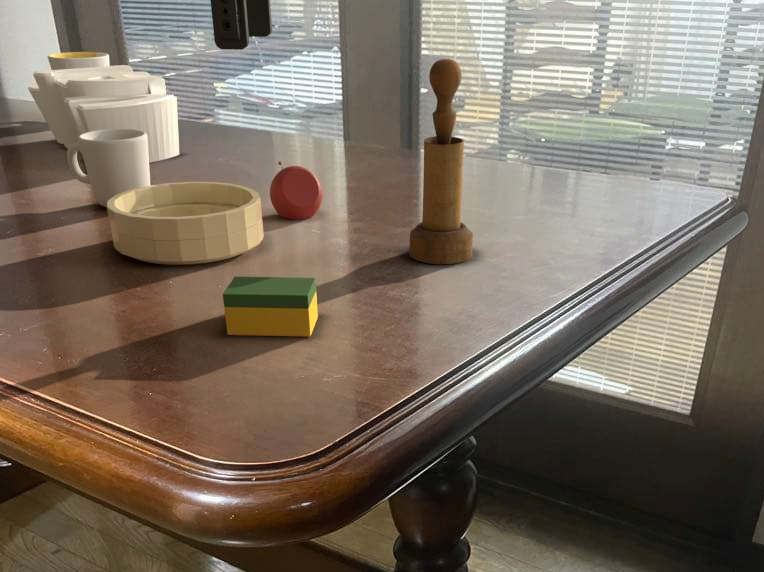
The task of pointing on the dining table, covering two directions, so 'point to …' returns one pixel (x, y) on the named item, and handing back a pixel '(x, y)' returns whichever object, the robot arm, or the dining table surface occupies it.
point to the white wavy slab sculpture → (108, 105)
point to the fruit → (295, 193)
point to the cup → (111, 161)
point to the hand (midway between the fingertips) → (245, 42)
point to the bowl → (186, 222)
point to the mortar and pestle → (442, 180)
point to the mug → (78, 60)
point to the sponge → (271, 306)
